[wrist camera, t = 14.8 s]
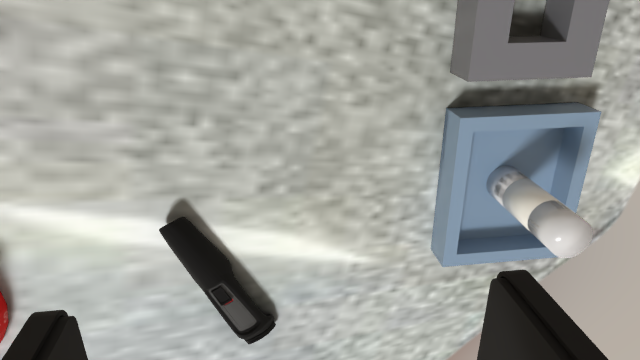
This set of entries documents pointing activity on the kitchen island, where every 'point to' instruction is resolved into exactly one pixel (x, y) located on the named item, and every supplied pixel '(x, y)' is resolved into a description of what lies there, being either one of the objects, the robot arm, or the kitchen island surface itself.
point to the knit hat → (3, 317)
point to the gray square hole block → (526, 41)
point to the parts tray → (500, 150)
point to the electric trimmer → (217, 280)
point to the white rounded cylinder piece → (540, 212)
